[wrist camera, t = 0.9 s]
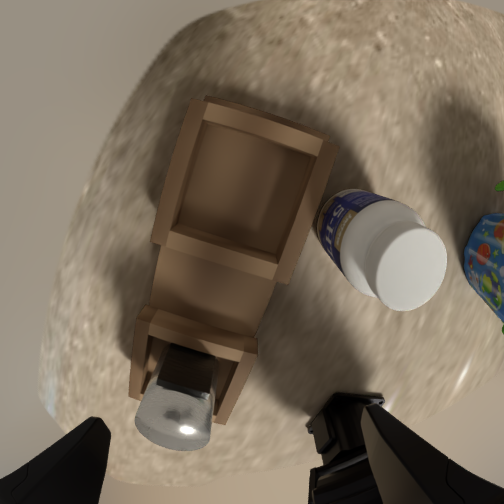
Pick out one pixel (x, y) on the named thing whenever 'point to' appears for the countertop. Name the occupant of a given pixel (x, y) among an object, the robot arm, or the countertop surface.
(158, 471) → the countertop surface
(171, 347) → the clear jar
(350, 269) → the pill bottle
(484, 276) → the snack cup
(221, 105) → the holder
